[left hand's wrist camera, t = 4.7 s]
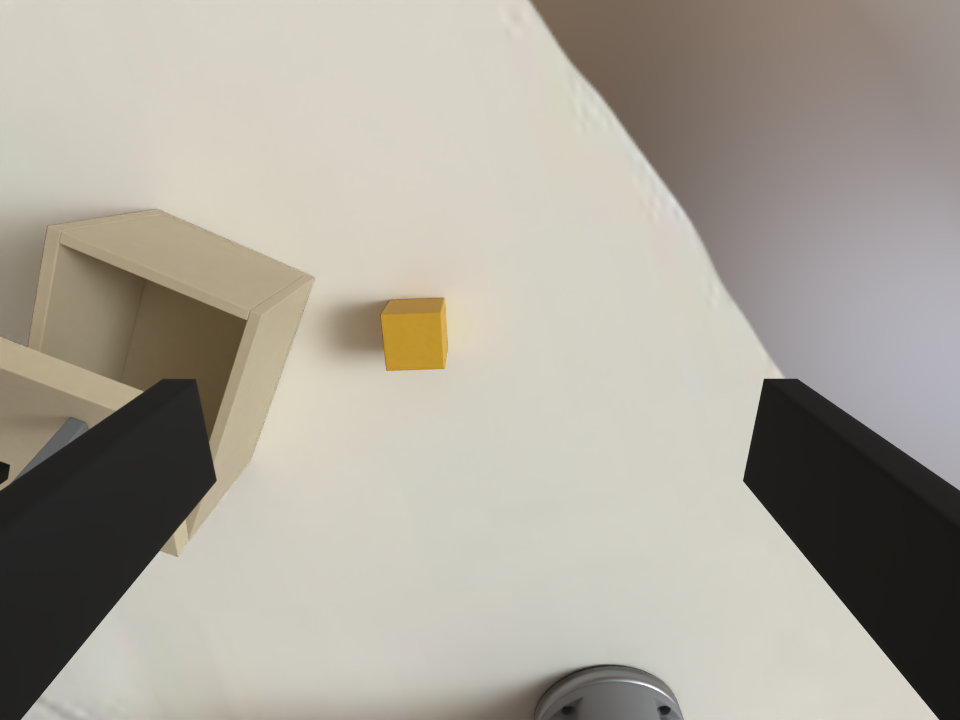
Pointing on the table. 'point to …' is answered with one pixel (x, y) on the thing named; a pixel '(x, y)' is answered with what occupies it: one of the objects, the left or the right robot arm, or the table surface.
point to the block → (415, 334)
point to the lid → (54, 411)
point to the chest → (173, 321)
